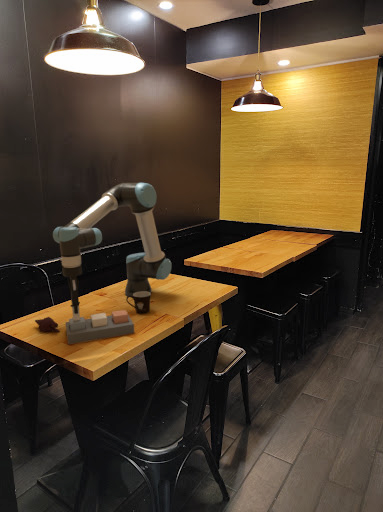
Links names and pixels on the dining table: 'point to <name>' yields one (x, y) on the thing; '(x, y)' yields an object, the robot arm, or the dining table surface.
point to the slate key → (77, 324)
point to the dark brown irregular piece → (47, 325)
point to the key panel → (99, 330)
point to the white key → (98, 320)
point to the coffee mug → (141, 302)
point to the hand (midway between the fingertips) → (76, 319)
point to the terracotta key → (119, 316)
